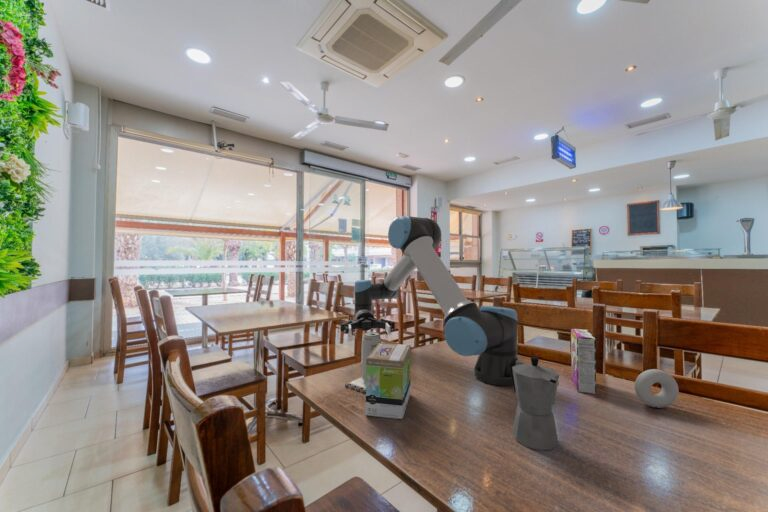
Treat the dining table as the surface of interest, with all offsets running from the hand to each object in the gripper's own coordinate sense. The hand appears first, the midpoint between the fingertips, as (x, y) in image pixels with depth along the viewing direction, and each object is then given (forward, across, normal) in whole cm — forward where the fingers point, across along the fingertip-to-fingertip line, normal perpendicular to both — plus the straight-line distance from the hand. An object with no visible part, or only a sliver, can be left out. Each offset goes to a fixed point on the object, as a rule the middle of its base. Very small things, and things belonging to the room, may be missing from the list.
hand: (369, 331), depth 112 cm
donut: (+37, -72, -15) cm, 83 cm away
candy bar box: (+22, -63, -15) cm, 68 cm away
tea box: (+25, -3, -14) cm, 29 cm away
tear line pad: (+11, +1, -14) cm, 18 cm away
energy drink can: (+10, +1, -13) cm, 17 cm away
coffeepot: (+45, -32, -15) cm, 57 cm away
